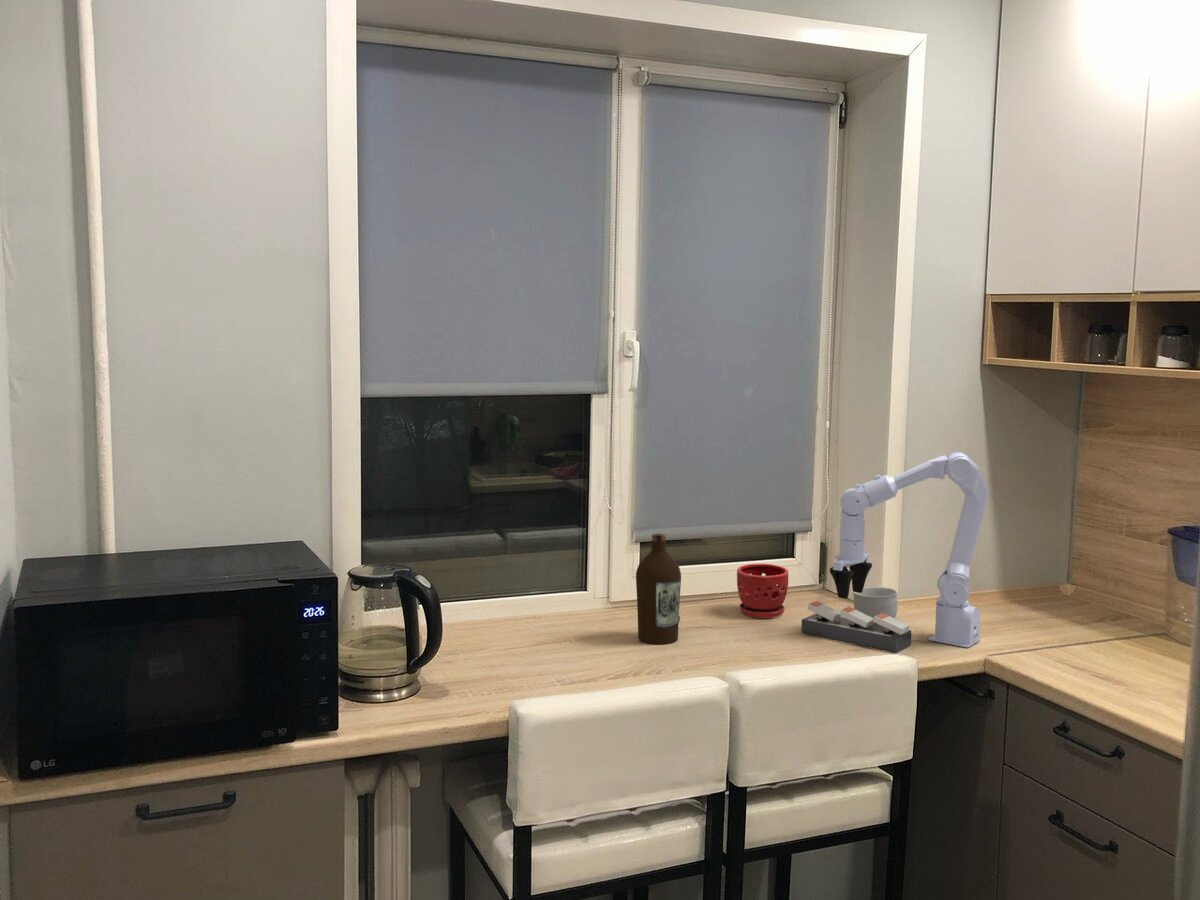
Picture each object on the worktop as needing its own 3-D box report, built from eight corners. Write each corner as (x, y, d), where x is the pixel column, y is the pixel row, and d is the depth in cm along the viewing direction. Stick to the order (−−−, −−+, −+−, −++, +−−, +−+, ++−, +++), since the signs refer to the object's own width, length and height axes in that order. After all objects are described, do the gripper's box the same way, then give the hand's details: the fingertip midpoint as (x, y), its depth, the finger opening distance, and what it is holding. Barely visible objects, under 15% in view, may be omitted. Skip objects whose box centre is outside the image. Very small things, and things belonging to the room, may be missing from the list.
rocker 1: (840, 617, 243) (842, 611, 243) (832, 621, 240) (834, 615, 240) (815, 605, 247) (816, 599, 247) (807, 609, 244) (808, 603, 244)
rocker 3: (908, 630, 232) (910, 624, 232) (900, 634, 229) (902, 628, 229) (880, 617, 236) (882, 611, 236) (872, 621, 233) (874, 615, 233)
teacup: (887, 630, 247) (888, 598, 246) (845, 622, 253) (846, 591, 252) (907, 617, 258) (908, 587, 257) (867, 611, 264) (868, 581, 263)
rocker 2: (873, 624, 238) (875, 618, 237) (865, 627, 235) (867, 621, 234) (847, 611, 242) (848, 605, 241) (839, 615, 239) (841, 609, 238)
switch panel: (910, 645, 234) (911, 625, 234) (896, 653, 228) (896, 632, 228) (817, 626, 250) (818, 607, 249) (801, 633, 244) (801, 614, 243)
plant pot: (726, 611, 264) (727, 566, 263) (768, 605, 270) (769, 561, 268) (754, 623, 252) (755, 576, 251) (798, 617, 258) (799, 571, 257)
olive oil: (626, 637, 241) (627, 533, 238) (662, 630, 247) (663, 528, 244) (653, 648, 232) (654, 540, 229) (689, 640, 238) (690, 535, 235)
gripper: (850, 532, 249) (849, 586, 251) (822, 541, 238) (820, 598, 240) (877, 536, 245) (875, 591, 246) (849, 545, 234) (848, 602, 235)
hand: (850, 595), depth 243 cm, fingers open, 7 cm apart
